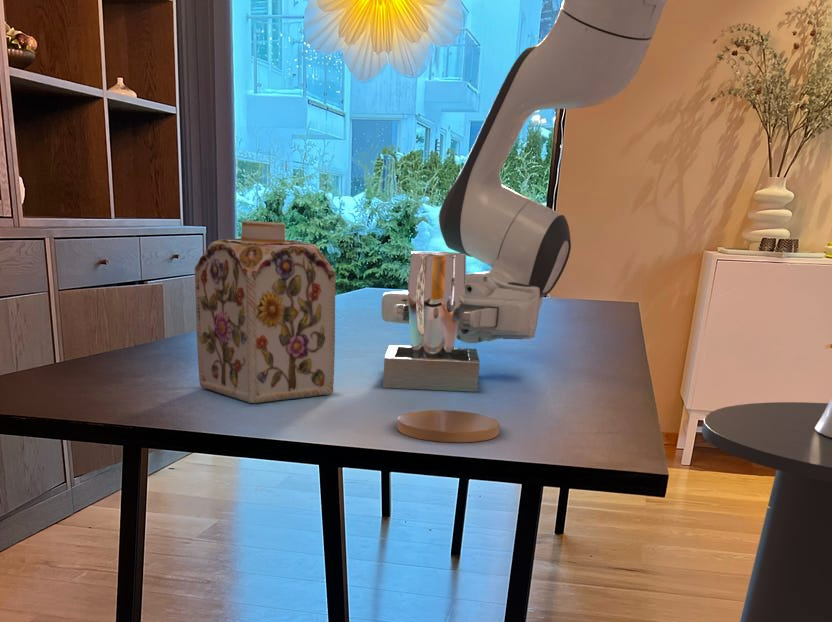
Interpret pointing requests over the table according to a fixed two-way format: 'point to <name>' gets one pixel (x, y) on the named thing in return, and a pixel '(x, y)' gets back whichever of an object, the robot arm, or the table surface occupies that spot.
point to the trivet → (448, 426)
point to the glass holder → (431, 370)
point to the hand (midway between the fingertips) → (432, 316)
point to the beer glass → (435, 302)
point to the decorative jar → (265, 316)
